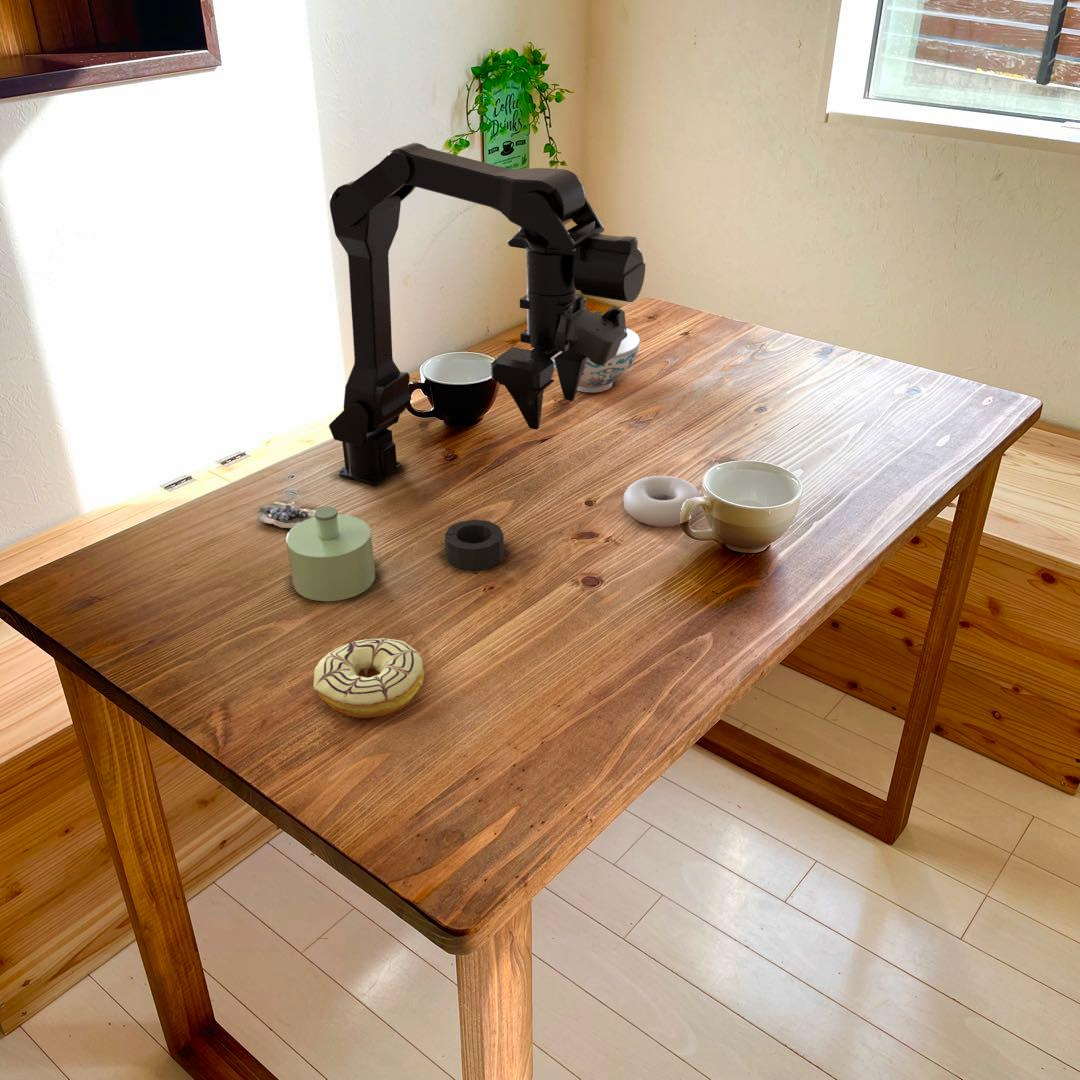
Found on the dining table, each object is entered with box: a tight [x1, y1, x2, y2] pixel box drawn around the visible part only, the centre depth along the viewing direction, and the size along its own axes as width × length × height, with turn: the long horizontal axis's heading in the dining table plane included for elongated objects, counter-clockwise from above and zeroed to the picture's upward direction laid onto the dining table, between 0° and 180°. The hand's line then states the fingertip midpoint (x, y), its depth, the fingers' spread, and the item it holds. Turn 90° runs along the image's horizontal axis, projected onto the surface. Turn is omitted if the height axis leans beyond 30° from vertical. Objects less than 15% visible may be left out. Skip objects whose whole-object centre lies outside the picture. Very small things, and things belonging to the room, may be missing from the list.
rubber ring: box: [444, 519, 505, 572], centre depth 133 cm, size 7×7×3 cm
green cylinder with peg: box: [285, 506, 376, 602], centre depth 127 cm, size 10×10×9 cm
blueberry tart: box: [256, 500, 317, 530], centre depth 141 cm, size 7×8×2 cm
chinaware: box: [552, 327, 641, 393], centre depth 175 cm, size 15×15×8 cm
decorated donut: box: [313, 637, 425, 719], centre depth 111 cm, size 10×11×4 cm
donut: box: [622, 475, 702, 528], centre depth 141 cm, size 10×4×10 cm
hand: (552, 413), depth 133 cm, fingers open, 9 cm apart
